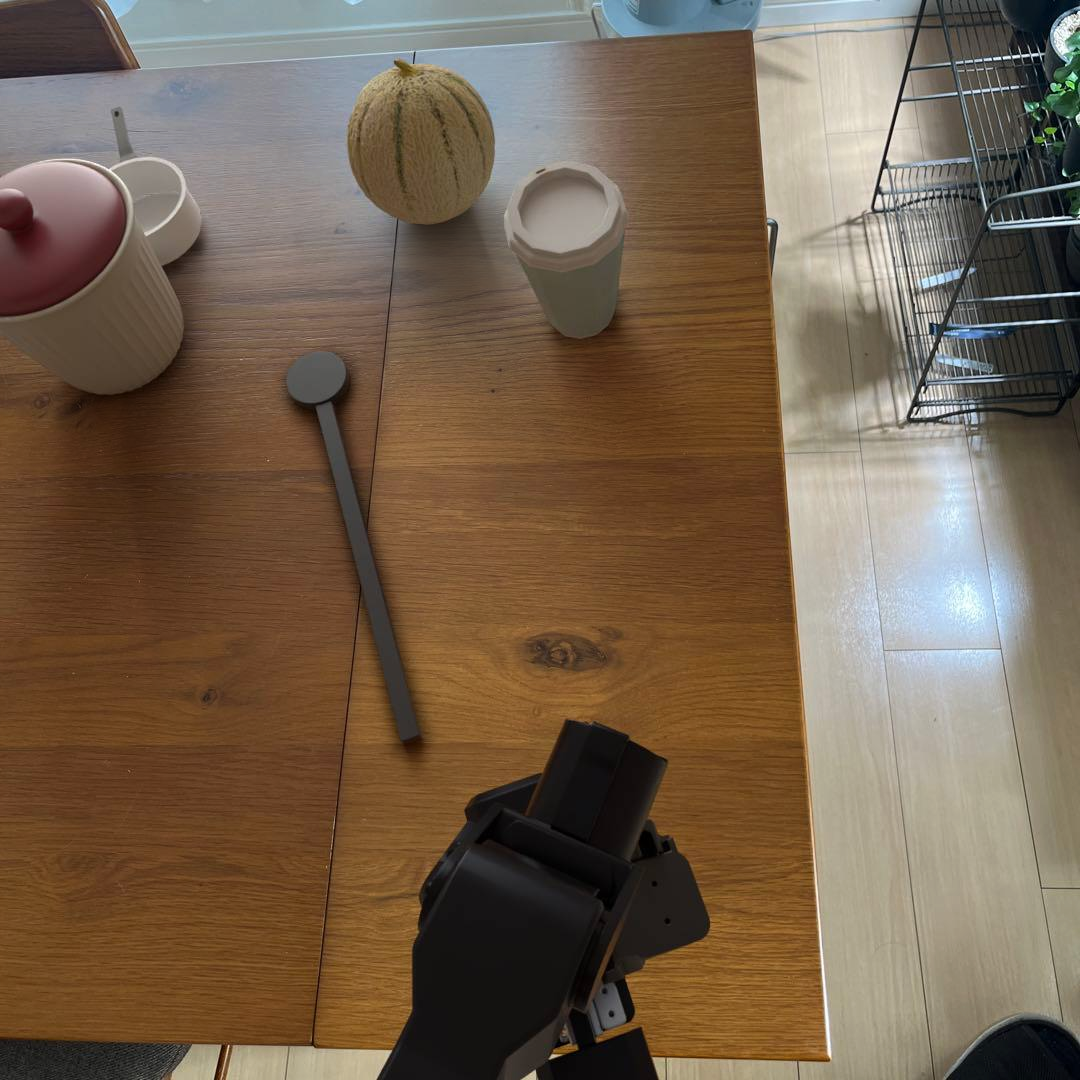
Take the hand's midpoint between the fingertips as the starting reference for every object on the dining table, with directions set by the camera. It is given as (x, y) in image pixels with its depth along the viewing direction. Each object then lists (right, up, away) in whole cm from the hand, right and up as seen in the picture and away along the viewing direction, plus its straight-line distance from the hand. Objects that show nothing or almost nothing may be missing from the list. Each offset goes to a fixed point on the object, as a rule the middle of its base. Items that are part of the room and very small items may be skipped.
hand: (570, 947), depth 63 cm
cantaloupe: (-13, +63, +39) cm, 75 cm away
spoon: (-18, +27, +24) cm, 41 cm away
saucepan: (-45, +63, +43) cm, 89 cm away
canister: (-44, +46, +36) cm, 73 cm away
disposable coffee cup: (+2, +49, +31) cm, 57 cm away
